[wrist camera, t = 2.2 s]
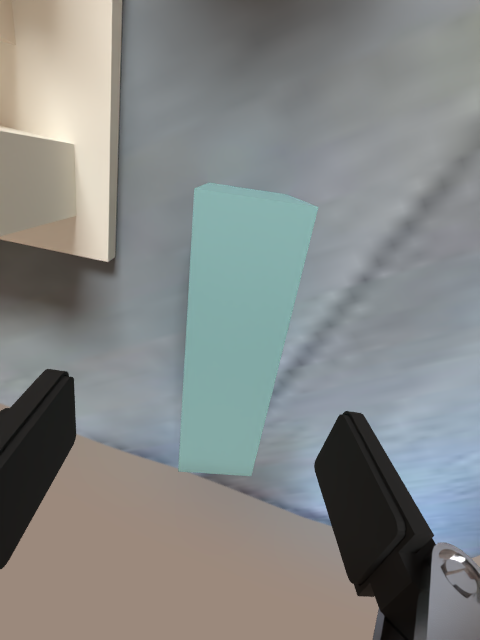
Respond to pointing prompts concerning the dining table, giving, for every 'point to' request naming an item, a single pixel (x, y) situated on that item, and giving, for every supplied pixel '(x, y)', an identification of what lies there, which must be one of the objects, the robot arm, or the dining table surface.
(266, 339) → the teal bar
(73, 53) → the stand
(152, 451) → the dining table surface
